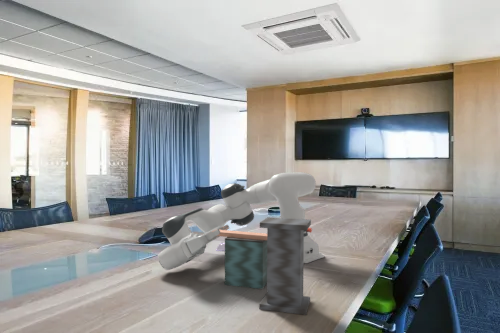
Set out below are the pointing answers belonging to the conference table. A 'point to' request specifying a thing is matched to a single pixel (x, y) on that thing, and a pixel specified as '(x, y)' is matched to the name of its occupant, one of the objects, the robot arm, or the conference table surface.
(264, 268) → the low pedestal
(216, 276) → the conference table surface
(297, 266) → the tall pedestal
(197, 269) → the conference table surface
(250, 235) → the slat
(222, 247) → the mobile phone
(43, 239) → the conference table surface
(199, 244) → the robot arm
